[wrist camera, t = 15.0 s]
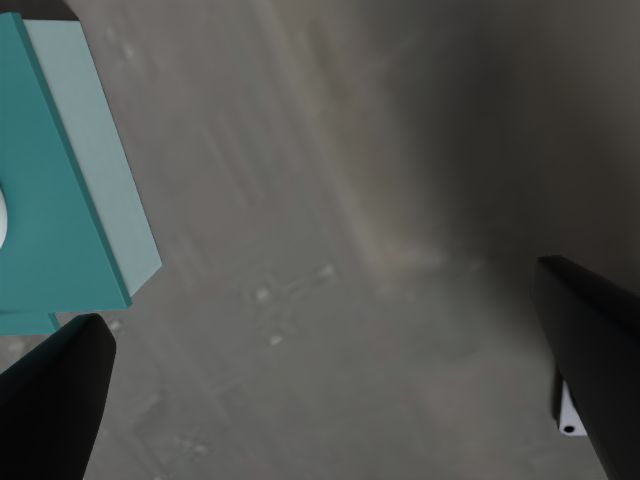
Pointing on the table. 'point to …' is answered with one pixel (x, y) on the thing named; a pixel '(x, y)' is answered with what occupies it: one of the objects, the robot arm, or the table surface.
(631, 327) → the robot arm
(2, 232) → the pill bottle
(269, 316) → the table surface
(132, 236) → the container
